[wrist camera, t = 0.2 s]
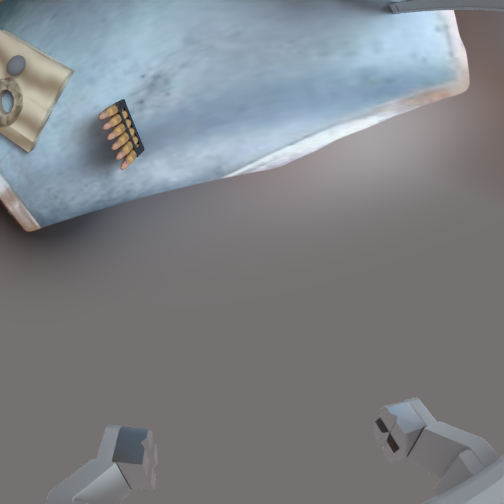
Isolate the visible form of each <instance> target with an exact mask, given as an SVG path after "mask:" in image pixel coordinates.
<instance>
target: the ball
mask: <svg viewBox="0 0 504 504" xmlns="http://www.w3.org/2000/svg"><path fill="white" fill-rule="evenodd" d="M25 66H26V60H25V58H24V57H23V56H20V55H17V56H14V57H12V58H11V59H10V60H9V62H8V63H7V67H6V69H7V72H8V74H9V75H11V76H16V75H19V74H20V73H21V72H22V71H23V70H24V68H25Z"/></svg>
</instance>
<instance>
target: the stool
mask: <svg viewBox="0 0 504 504" xmlns="http://www.w3.org/2000/svg"><path fill="white" fill-rule="evenodd" d="M390 7H391V9H392V11H393V13H394V14H398V13H407V12H418V11H433V10H489V11H490V10H491V11H504V0H407V1H401V2H396V3H393V4H390Z"/></svg>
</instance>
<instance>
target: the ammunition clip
mask: <svg viewBox="0 0 504 504" xmlns="http://www.w3.org/2000/svg"><path fill="white" fill-rule="evenodd" d="M116 113H117V114H116ZM115 114H116V115H115ZM113 115H114V116H113ZM109 117H111V118H110V119H109V120H108V121H107V122H106V123H105V124H104V126H103V129H104V130H107V129H110V128H112V127H115V128H113V130H112V131H111V132H110V133H109V135H108V137H107V139H108V140H112V139H114V138H115V137H118V136H119V137H118V138H117V139H116V141H115V142H114V143H113V145H112V150H116V149H118V148H119V147H120V146H122V147H121V148H120V151H119V152H118V153H117V155H116V159H117V160H120V159H122V158H123V157H124V156H125V155H126V156H125V158H124V160H123V162H122V164H121V167H120V168H121V170H124V169H125V168H127V167H128V166H129V165H130V164H131V163H132V162H133V161H134V159H135V158H136V157H138V156H139V155H140V154H141V153H142V152H143V151H144V147H143V144H142V142H141V140H140V137H139V135H138V132H137V130H136V128H135V125H134V123H133V120H132V118H131V115H130V113H129V110H128V108H127V105H126V102H125V100H124V99H123V100H121V101H119V102H117V103H115V104H113V105H112V106H110V107H108V108H107V109H105V110H104V111H103V112H102V113H101V114H100V115H99V117H98V118H99V119H101V120H102V119H105V118H109ZM120 122H121V123H120ZM119 123H120V124H119ZM117 124H118V125H117Z"/></svg>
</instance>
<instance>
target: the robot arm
mask: <svg viewBox="0 0 504 504" xmlns="http://www.w3.org/2000/svg"><path fill="white" fill-rule="evenodd" d="M378 414H379V415H380V417H379V419H377V420H376V421H375V424H374V427H373V434H374V437H375V440H376V442H377V443H378V444H380V445H382V446H383V448H382V453H383V454H384V456H385V458H386V460H387V462H388V463H391V462H394V461H397V460H400V459H403V458H406V457H407V458H408V459H409V460H410V461H412V462H414V463H415V464H417V465H418V466H420V467H422V468H423V469H425V470H426V471H428V472H430V473H431V474H433V475H435V476H436V477H438V478H440V480H439V482H438V483H437V484H436V485H435V486H434V489H433V491H434V492H435V494H436V496H435V497H433V498H431V499H429V500H427V501H425V502H423V503H421V504H504V455H503V456H502V457H501V458H500V457H499V456H498V455H497V453H495V451H494V450H493V449H492V447H491V446H490V445H489V444H488V443H487V441H486V440H485V439H483V438H480V437H478V436H475V435H473V434H470V433H467V432H465V431H462V430H460V429H457V428H455V427H452V426H450V425H447V424H445V423H443V422H437V421H436V420H435V419H434V418H433V416H432V415H431V414H430V412H429V411H428V410H427V409H426V408H425V406H424V405H423V404H422V402H421V401H420V400H419V399H418V398H416V397H415V398H411V399H408V400H405V401H401V402H397V403H394V404H390V405H387V406H383V407H382V408H381V409H380V411H379V413H378ZM152 438H153V434H152V432H151V429H141V428H132V427H123V426H114V425H108V426H107V427H106V429H105V432H104V435H103V438H102V442H101V445H100V448H99V452H98V456H97V459H92V460H91V461H89V462H88V463H87V464H85V465H84V466H83V467H81V468H80V469H79V470H78V471H76V472H75V473H74V474H72V475H71V476H70V477H68V478H67V479H66V480H64V481H63V482H62V483H60V484H59V485H58V486H56V487H55V488H54V489H52V490H51V491H49V494H48V497H47V500H46V503H45V504H120V503H121V502H122V501H123V499H124V498H125V497H126V496H127V495H128V494H129V493H130V492H131V489H133V490H144V491H155V484H156V475H155V472H154V469H155V468H156V467H157V465H158V452H157V447H156V443H155V442H153V441H152ZM0 504H1V503H0Z"/></svg>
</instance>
